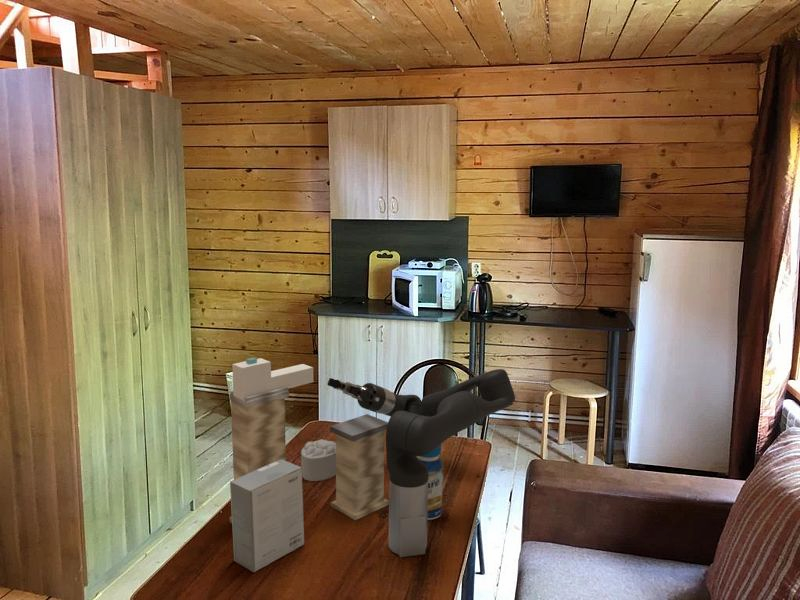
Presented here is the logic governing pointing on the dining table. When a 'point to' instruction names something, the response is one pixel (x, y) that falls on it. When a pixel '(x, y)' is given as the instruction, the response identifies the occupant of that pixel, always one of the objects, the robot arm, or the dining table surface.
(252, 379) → the breaker module
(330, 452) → the lumpy-topped squat cylinder
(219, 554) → the dining table surface
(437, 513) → the beverage bottle
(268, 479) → the hard drive box
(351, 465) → the lower stand
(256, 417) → the stand
